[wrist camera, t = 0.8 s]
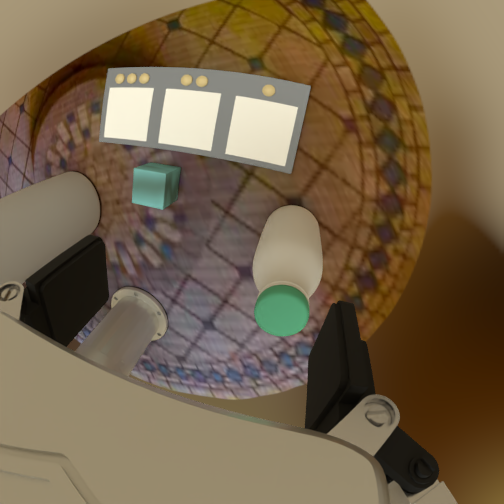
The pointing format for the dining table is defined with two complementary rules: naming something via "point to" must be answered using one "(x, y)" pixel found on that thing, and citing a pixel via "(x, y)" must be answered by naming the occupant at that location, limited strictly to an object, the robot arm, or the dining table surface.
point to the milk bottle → (287, 270)
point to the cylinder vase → (44, 223)
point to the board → (205, 113)
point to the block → (155, 185)
